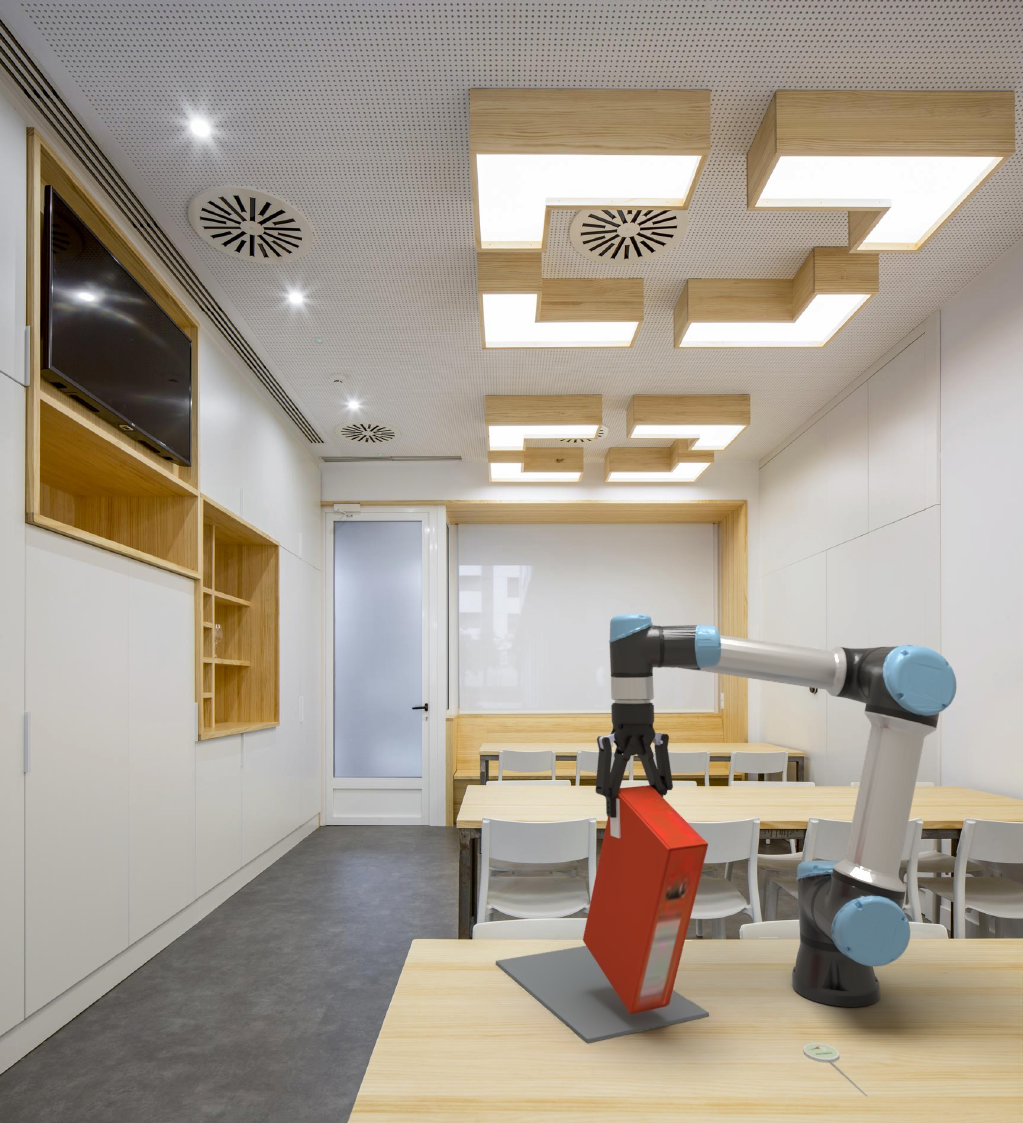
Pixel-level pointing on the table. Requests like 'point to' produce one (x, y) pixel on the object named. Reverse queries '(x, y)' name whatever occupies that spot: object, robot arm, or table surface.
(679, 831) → the file binder
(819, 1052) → the sign
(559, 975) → the mat
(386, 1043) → the table surface
